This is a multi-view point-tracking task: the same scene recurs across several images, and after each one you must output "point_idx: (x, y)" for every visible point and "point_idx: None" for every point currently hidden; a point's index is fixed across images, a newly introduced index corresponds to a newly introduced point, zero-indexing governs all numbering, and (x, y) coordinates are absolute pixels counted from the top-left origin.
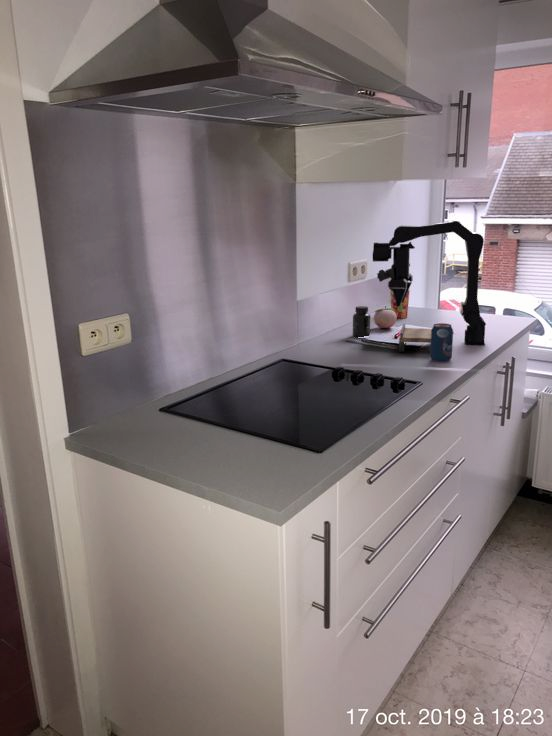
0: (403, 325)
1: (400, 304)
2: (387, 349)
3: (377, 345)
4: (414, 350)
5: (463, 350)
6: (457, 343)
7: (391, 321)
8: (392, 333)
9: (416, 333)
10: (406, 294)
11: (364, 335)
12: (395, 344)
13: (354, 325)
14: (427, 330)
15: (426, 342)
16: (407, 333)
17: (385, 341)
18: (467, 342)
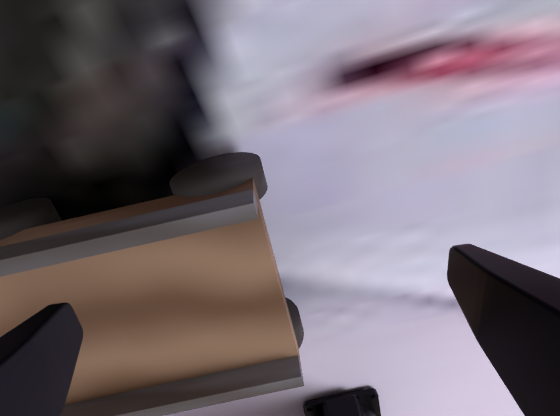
0: (194, 223)
1: (76, 357)
2: (27, 121)
3: (90, 17)
4: None
5: (210, 409)
6: (324, 371)
7: None
8: (501, 4)
9: (117, 313)
10: (524, 410)
11: None
12: (180, 128)
13: None
14: (236, 340)
15: None
16: (83, 268)
17: (234, 35)
18: (320, 407)
